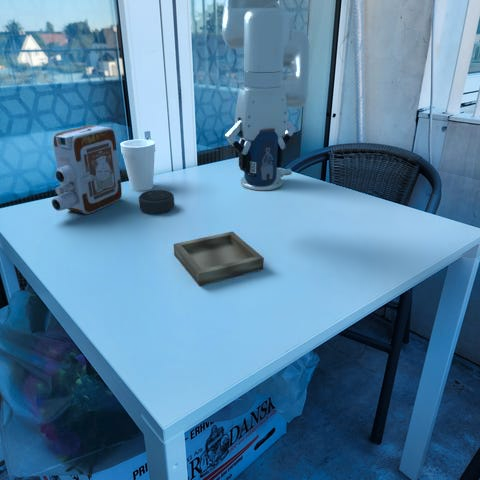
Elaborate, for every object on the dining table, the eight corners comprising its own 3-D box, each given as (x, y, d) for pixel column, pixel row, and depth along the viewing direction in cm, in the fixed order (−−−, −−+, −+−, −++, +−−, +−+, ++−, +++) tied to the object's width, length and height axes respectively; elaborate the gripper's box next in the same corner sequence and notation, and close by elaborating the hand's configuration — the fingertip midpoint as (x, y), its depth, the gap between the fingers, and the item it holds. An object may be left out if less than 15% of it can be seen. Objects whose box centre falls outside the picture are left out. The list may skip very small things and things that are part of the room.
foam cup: (132, 181, 130) (128, 138, 124) (162, 183, 129) (158, 140, 123) (120, 191, 122) (115, 146, 116) (152, 193, 120) (147, 148, 115)
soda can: (255, 175, 97) (256, 121, 91) (282, 181, 93) (284, 126, 88) (237, 183, 92) (237, 128, 86) (265, 190, 88) (267, 132, 83)
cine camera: (44, 218, 104) (26, 136, 96) (101, 194, 120) (91, 121, 111) (71, 225, 101) (55, 140, 92) (127, 199, 116) (118, 125, 107)
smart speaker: (149, 201, 116) (148, 187, 114) (180, 204, 113) (179, 190, 112) (133, 213, 108) (132, 198, 106) (166, 217, 106) (164, 202, 104)
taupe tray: (232, 241, 93) (232, 231, 92) (263, 269, 82) (263, 257, 81) (174, 254, 88) (173, 243, 87) (199, 286, 77) (198, 274, 76)
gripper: (289, 76, 89) (285, 158, 98) (214, 80, 82) (216, 169, 91) (310, 80, 84) (304, 167, 92) (231, 86, 76) (231, 180, 85)
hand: (260, 167), depth 91 cm, fingers closed on soda can, 7 cm apart
